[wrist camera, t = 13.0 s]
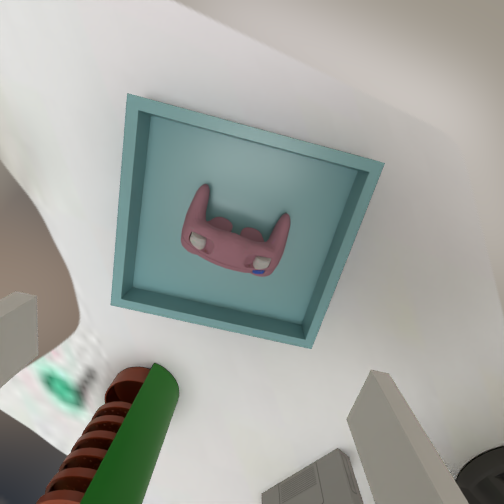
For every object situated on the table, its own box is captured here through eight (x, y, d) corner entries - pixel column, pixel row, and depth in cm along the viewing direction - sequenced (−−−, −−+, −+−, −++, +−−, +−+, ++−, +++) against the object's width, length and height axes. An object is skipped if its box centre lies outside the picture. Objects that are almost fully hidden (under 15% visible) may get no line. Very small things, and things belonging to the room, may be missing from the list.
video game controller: (193, 212, 29) (168, 258, 24) (200, 177, 25) (173, 222, 20) (279, 242, 30) (271, 293, 25) (295, 211, 26) (291, 262, 21)
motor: (132, 350, 34) (-23, 590, 15) (192, 381, 36) (120, 634, 17) (101, 399, 37) (-62, 652, 18) (158, 426, 38) (63, 685, 20)
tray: (368, 162, 26) (384, 163, 23) (305, 329, 32) (311, 349, 29) (144, 102, 24) (127, 93, 21) (126, 289, 31) (110, 305, 28)
